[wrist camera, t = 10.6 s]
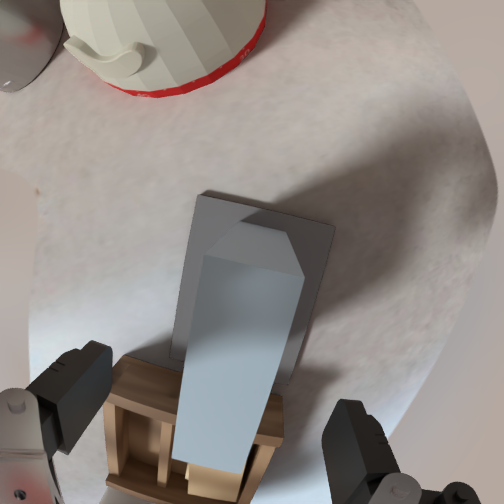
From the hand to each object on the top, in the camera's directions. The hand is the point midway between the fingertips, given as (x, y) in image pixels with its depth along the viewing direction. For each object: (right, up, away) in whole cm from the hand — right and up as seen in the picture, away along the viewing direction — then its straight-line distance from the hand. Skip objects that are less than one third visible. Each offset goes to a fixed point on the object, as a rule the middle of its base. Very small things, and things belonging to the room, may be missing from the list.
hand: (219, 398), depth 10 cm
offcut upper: (-2, -13, +12) cm, 17 cm away
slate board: (+1, +2, +11) cm, 11 cm away
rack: (-4, -11, +14) cm, 19 cm away
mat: (+1, +2, +12) cm, 12 cm away
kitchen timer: (-5, +22, +8) cm, 24 cm away
